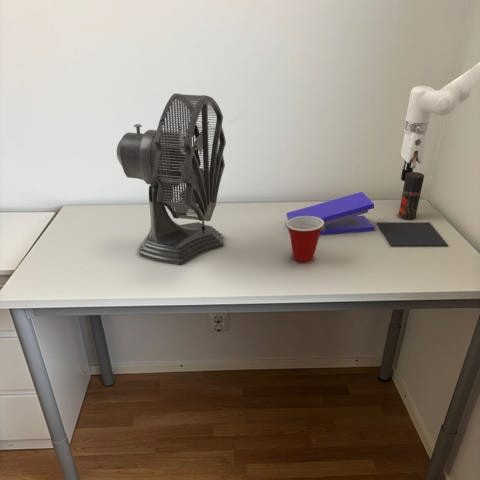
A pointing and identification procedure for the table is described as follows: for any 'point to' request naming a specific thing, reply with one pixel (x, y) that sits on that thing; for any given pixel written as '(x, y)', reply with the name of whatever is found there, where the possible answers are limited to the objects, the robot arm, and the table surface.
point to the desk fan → (178, 178)
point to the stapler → (340, 214)
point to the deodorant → (411, 195)
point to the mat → (411, 234)
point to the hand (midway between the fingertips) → (405, 180)
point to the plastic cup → (304, 236)
